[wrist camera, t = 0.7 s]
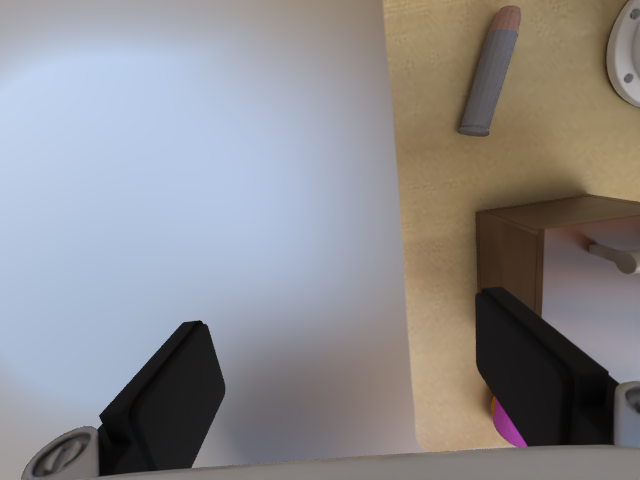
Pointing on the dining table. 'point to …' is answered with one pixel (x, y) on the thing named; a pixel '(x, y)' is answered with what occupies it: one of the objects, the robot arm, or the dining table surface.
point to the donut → (505, 425)
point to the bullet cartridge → (491, 72)
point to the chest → (530, 238)
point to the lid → (594, 288)
